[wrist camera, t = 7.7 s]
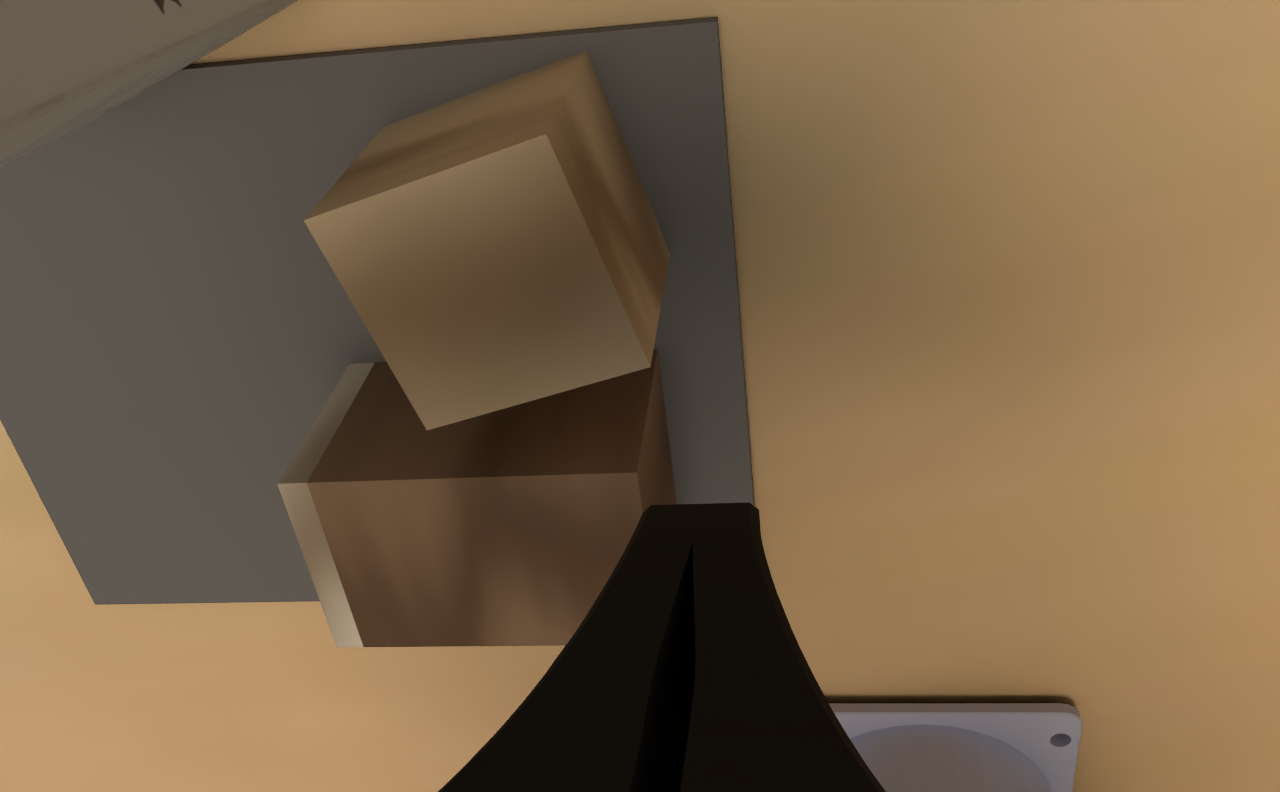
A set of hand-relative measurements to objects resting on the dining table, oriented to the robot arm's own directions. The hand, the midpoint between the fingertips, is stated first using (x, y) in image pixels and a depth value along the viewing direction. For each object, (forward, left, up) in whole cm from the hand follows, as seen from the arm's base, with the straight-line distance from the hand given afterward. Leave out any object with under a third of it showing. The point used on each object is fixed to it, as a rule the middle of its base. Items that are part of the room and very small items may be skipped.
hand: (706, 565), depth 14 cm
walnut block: (-5, +9, -8) cm, 13 cm away
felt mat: (-3, +9, -10) cm, 14 cm away
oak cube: (+1, +4, -10) cm, 11 cm away
